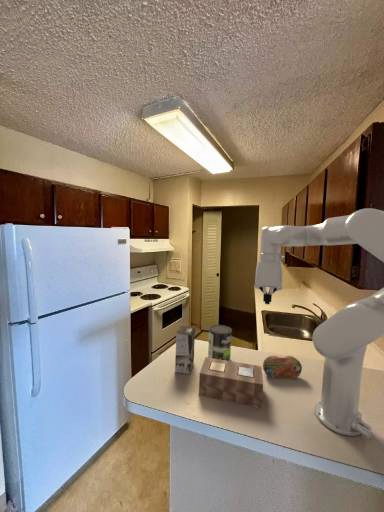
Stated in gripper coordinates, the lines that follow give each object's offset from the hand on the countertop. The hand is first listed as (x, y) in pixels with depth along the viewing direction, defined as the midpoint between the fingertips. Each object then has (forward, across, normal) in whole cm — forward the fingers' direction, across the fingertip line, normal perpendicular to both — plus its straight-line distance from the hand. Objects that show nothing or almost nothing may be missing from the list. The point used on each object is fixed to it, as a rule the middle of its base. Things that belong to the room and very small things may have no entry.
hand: (267, 303), depth 91 cm
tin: (+29, -7, +1) cm, 30 cm away
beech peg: (+29, +17, +15) cm, 37 cm away
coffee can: (+29, +19, -5) cm, 35 cm away
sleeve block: (+29, +12, +15) cm, 35 cm away
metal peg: (+29, +7, +15) cm, 33 cm away
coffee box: (+29, +32, +6) cm, 44 cm away
